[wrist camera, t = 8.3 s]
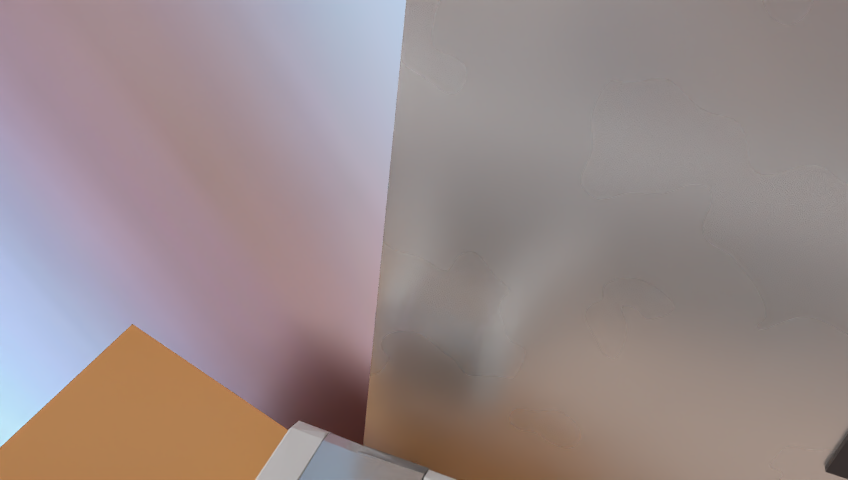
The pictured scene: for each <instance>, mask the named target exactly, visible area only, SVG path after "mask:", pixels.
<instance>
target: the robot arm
mask: <svg viewBox="0 0 848 480" xmlns="http://www.w3.org/2000/svg"><path fill="white" fill-rule="evenodd" d="M255 480H457V479H454V478H451V477H449V476H446V475H443V474H440V473H437V472H434V471H431V470H429V468H427V467H424V466H421V465H418V464H416V463H413V462H410V461H407V460H404V459H402V458H399V457H396V456H393V455H390V454H387V453H385V452H382V451H379V450H376V449H373V448H371V447H368V446H363V445H361V444H358V443H356V442H353V441H351V440H348V439H345V438H343V437H340V436H338V435H335V434H333V433H331V432H328V431H326V430H323V429H320V428H318V427H315V426H312V425H310V424H307V423H304V422H302V421H298V422H297V423H295V424H294V425H293V426H292V427H291V428H290V429H289V430H288V431H287V433H286V434H285V436H284V437H283V439H282V440H281V442H280V443H279V445H278V446H277V448H276V449H275V451H274V452H273V454H272V455H271V457H270V458H269V460H268V461H267V463H266V464H265V466H264V467H263V469H262V470H261V472H260V473H259V475H258V476H257V478H256V479H255Z"/></svg>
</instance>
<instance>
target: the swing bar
mask: <svg viewBox="0 0 848 480" xmlns="http://www.w3.org/2000/svg"><path fill="white" fill-rule="evenodd" d="M287 431H288V430H287V429H286V428H284V427H283V426H282V425H280V424H279V423H277V422H276V421H274V420H273V419H271V418H270V417H268V416H267V415H265V414H264V413H262V412H261V411H259V410H258V409H257V408H255V407H254V406H252V405H251V404H249V403H248V402H246V401H245V400H243V399H242V398H240V397H239V396H237V395H236V394H234V393H233V392H231V391H230V390H229V389H227V388H226V387H224V386H223V385H221V384H220V383H218V382H217V381H215V380H214V379H212V378H211V377H209V376H208V375H206V374H205V373H204V372H202V371H201V370H199V369H198V368H196V367H195V366H193V365H192V364H190V363H189V362H187V361H186V360H184V359H183V358H181V357H180V356H179V355H177V354H176V353H174V352H173V351H171V350H170V349H168V348H167V347H165V346H164V345H162V344H161V343H159V342H158V341H156V340H155V339H154V338H152V337H151V336H149V335H148V334H146V333H145V332H143V331H142V330H140V329H139V328H137V327H136V326H134V325H133V324H132V325H131V326H130V327H129V328H128V329H127V330H126V331H125V332H123V333H122V334H121V335H120V336H119V337H118V338H117V339H116V340H115V341H114V342H113V343H112V344H111V345H110V346H108V347H107V348H106V349H105V350H104V351H103V352H102V353H101V354H100V355H99V356H98V357H97V358H96V359H95V360H93V361H92V362H91V363H90V364H89V365H88V366H87V367H86V368H85V369H84V370H83V371H82V372H81V373H80V374H78V375H77V376H76V377H75V378H74V379H73V380H72V381H71V382H70V383H69V384H68V385H67V386H66V387H65V388H63V389H62V390H61V391H60V392H59V393H58V394H57V395H56V396H55V397H54V398H53V399H52V400H51V401H50V402H49V403H47V404H46V405H45V406H44V407H43V408H42V409H41V410H40V411H39V412H38V413H37V414H36V415H35V416H34V417H32V418H31V419H30V420H29V421H28V422H27V423H26V424H25V425H24V426H23V427H22V428H21V429H20V430H19V431H17V432H16V433H15V434H14V435H13V436H12V437H11V438H10V439H9V440H8V441H7V442H6V443H5V444H4V445H2V446H1V447H0V480H255V479H256V478H257V476H258V475H259V473H260V472H261V470H262V469H263V467H264V466H265V464H266V463H267V461H268V460H269V458H270V457H271V455H272V454H273V452H274V451H275V449H276V448H277V446H278V445H279V443H280V442H281V440H282V439H283V437H284V436H285V434H286V433H287Z"/></svg>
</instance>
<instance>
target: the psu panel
mask: <svg viewBox="0 0 848 480" xmlns="http://www.w3.org/2000/svg"><path fill="white" fill-rule="evenodd" d="M363 446H368V447H371V448H373V449H376V450H379V451H382V452H385V453H387V454H390V455H393V456H396V457H399V458H402V459H404V460H407V461H410V462H413V463H416V464H418V465H421V466H424V467H427V468H429V470H431V471H434V472H437V473H440V474H443V475H446V476H449V477H451V478H454V479H457V480H848V0H406V9H405V20H404V30H403V40H402V50H401V61H400V71H399V81H398V92H397V102H396V112H395V122H394V133H393V143H392V153H391V164H390V174H389V184H388V194H387V205H386V215H385V225H384V236H383V246H382V256H381V266H380V277H379V287H378V297H377V308H376V318H375V328H374V338H373V349H372V359H371V369H370V380H369V390H368V400H367V410H366V421H365V431H364V441H363Z"/></svg>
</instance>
